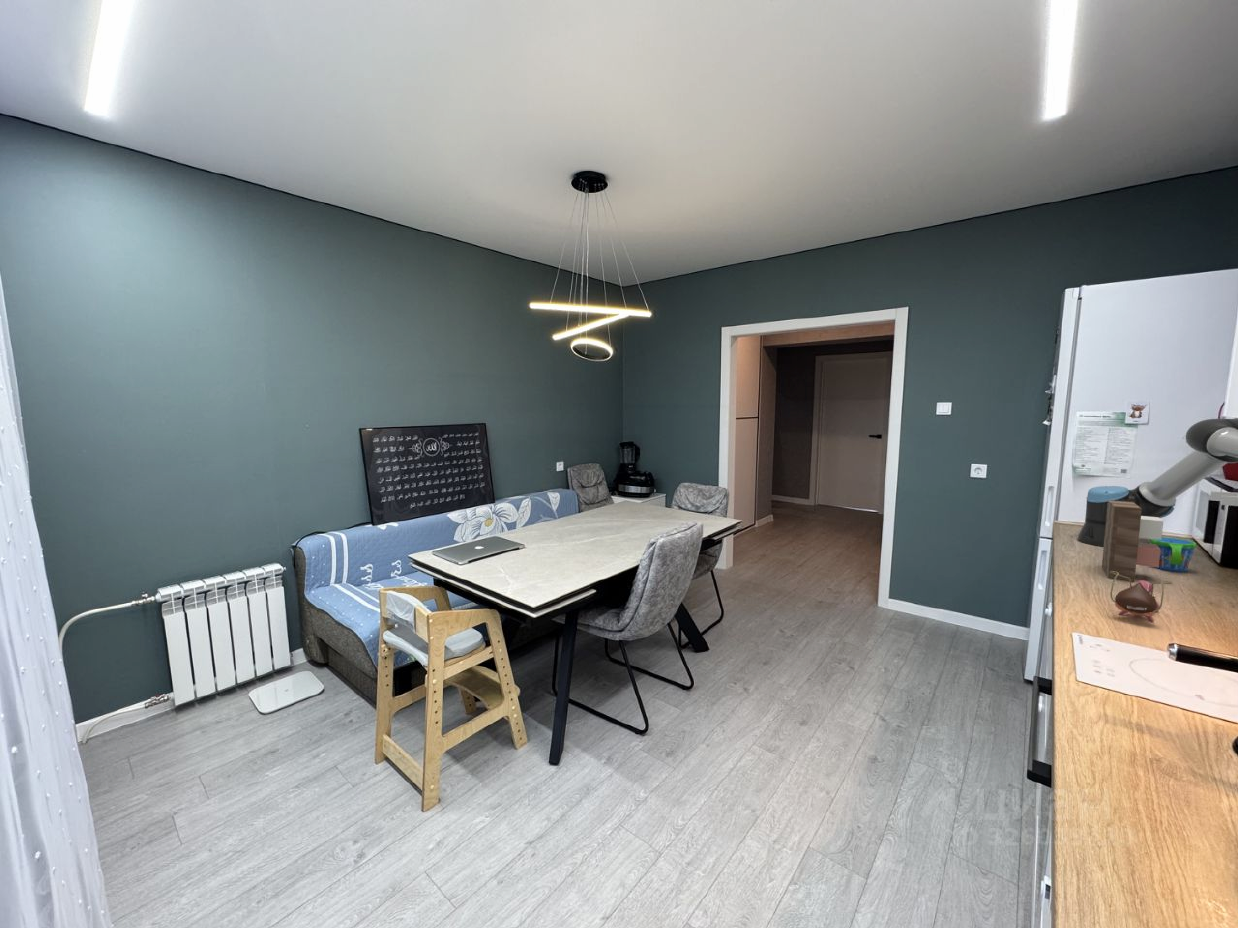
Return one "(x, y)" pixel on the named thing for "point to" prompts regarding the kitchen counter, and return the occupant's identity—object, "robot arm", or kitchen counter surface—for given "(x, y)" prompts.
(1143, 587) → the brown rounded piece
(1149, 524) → the white key
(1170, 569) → the snack cup
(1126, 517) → the key panel
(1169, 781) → the kitchen counter surface
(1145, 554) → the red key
